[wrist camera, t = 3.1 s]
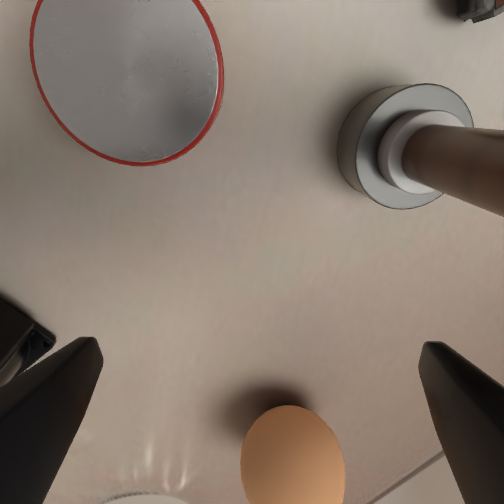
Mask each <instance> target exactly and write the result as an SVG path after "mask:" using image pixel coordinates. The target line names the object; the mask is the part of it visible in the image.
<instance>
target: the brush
mask: <svg viewBox="0 0 504 504" xmlns="http://www.w3.org/2000/svg"><path fill="white" fill-rule="evenodd" d="M337 160H338V164H339V168H340V170H341V173H342V174H343V176H344V178H345V179H346V181H347V182H348V183H349V184H350V185H351V186H352V187H353V188H355V189H356V190H358V191H359V192H361V193H362V194H364V195H365V196H367V197H369V198H370V199H372V200H373V201H375V202H376V203H378V204H380V205H382V206H385V207H388V208H392V209H412V208H416V207H420V206H423V205H426V204H428V203H430V202H432V201H434V200H435V199H437V198H438V197H440V196H441V195H443V194H444V193H445V194H447V195H450V196H452V197H455V198H458V199H460V200H463V201H465V202H468V203H470V204H473V205H475V206H478V207H480V208H483V209H485V210H488V211H490V212H493V213H495V214H498V215H500V216H503V217H504V130H495V129H483V128H474V125H473V120H472V116H471V113H470V111H469V109H468V107H467V105H466V103H465V102H464V101H463V100H462V98H461V97H460V96H459V95H457V94H456V93H455V92H454V91H452V90H450V89H449V88H446V87H444V86H442V85H437V84H429V83H424V84H414V85H405V86H396V87H388V88H384V89H381V90H378V91H376V92H374V93H372V94H370V95H368V96H367V97H365V98H364V99H363V100H361V101H360V102H359V103H358V104H357V105H356V106H355V107H354V108H353V109H352V111H351V112H350V113H349V115H348V116H347V118H346V120H345V121H344V123H343V125H342V128H341V130H340V133H339V137H338V143H337Z"/></svg>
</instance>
